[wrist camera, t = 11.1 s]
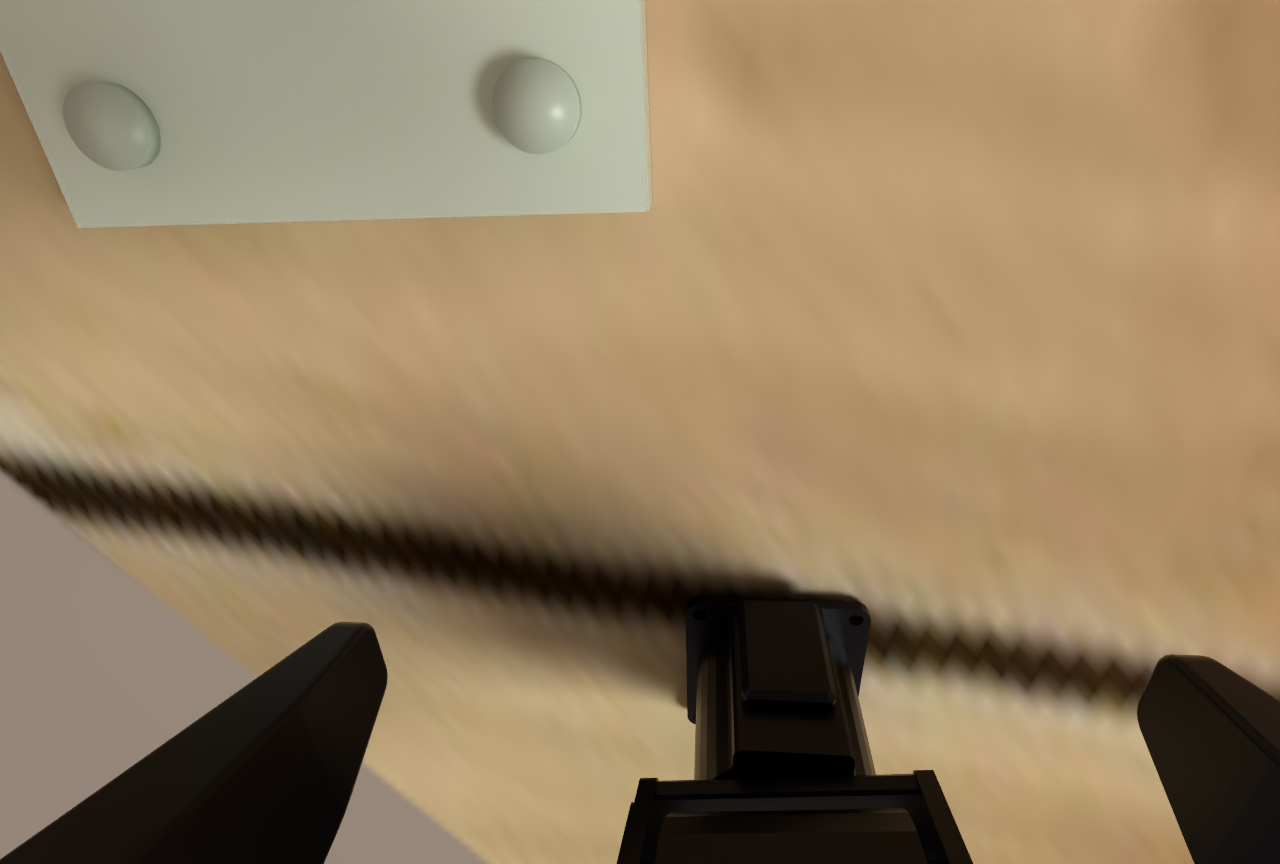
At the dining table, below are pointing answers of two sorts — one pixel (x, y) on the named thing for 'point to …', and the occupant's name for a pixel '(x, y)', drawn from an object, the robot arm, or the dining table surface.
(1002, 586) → the dining table surface
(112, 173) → the baseplate
